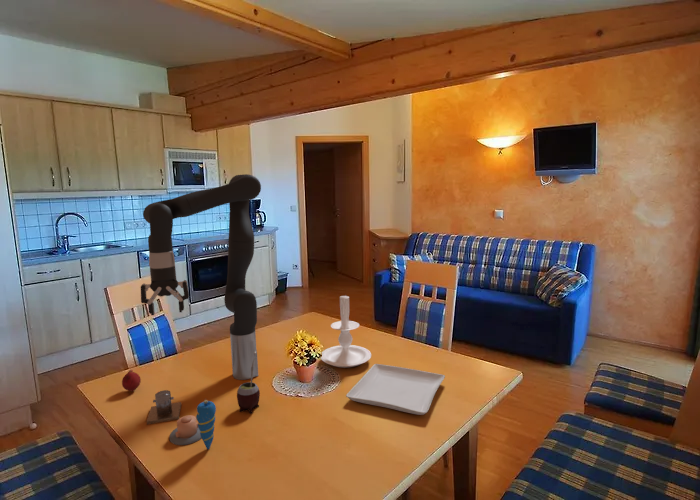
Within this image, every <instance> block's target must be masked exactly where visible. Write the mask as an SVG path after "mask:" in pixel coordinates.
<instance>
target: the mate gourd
mask: <svg viewBox="0 0 700 500" xmlns="http://www.w3.org/2000/svg"><path fill="white" fill-rule="evenodd" d="M255 359H256V358H254V360H253V363H252V367H251V379H250V381H248V382H244V383H242V384H240V385H239V386H238V389H237V392H236V399H237V405H238V408H239V409H238V411H239V413H243V412H246V411H248V412H249V414H251V415H252V414H253V413H254V412H253V410H254V409H257V408H259V407H260V405H259V401H260V396H261V395H260V394H261V393H260V391H261V390H260V387H259V386H258V385H257V384H256V383H255V382H253V378H254V377H253V369H254V368H253V366H254V362H255Z"/></svg>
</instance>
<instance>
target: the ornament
mask: <svg viewBox="0 0 700 500" xmlns="http://www.w3.org/2000/svg"><path fill="white" fill-rule="evenodd" d="M196 412H197V413H196V416H195V417H196V422H197V423H198V428H199V430H200V435H201V440H202V441H203V443H204V445H205V448H206V449H207V450H210V448H211V446H212V444H213V440H214V436H215V435H214V432H215V422H216V412H217V407H216V404H215V403H214V402H213V401H210V400H208V399H207V398H204V401H202V402H200V403H199V404H198V405H197V407H196Z"/></svg>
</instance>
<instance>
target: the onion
mask: <svg viewBox="0 0 700 500" xmlns="http://www.w3.org/2000/svg"><path fill="white" fill-rule="evenodd" d="M141 380H142V379H141V376H140V375H139V374H138V373H137V372H134V371H133V369H129V370H128V372H127V373H126V374H125V375H124V376H123V377H122V380H121V385H122V387H123V389H124V390H126V391H128V392H134V391H135V390H136V389H137V388H139V386H140V385H141Z"/></svg>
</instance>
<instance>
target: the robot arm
mask: <svg viewBox="0 0 700 500" xmlns="http://www.w3.org/2000/svg"><path fill="white" fill-rule="evenodd" d="M261 190H262V185H261V182H260V180H259V179H258V178H257V177H256V176H255V175H252V174H249V173H248V174H247V173H245V174H236V175H234V176H233V177H232V178H230V180H229V182H228V183H226V184H225V185H220V186H216V187H213V188H212V187H211V188H206V189H201V190H197V191H193V192H189V193H185V194H182V195H179V196H177V197H174V198H169V199H164V200H160V201H156V202H152V203H150V204H148V205H146V206H145V208H144V209H143V211H142V215H143V216H142V217H143V218H144V220H145V221H146V222H147V223H148V224H149V229H150V230H149V232H150V234H149V235H148V238H147V240H148V241H147V243H148V261H149V263H148V266H149V272H150V281H151V282H150V283H149V284H148V283H147V284H146V283H142V284H141V285H140V302H141V304H146V305H147V306H148V314H149V315H151V316H155V306H154V305H155V304H154V300H155V299H156V298H157V296H158V297H161V298H162V297H164V296H166V297H168V296H169V297H170V296H173V297H174V298H175V299H177V301H178V309H179V310H178V312H179V313H183V311H184V309H185V302H184V301H185V300H188V299H189V298H190V294H189V287H188V281H187V280H185V279H184V280H183V281H178V280H177V272H176V262H175V254H174V248H173V246H174V245H173V238H172V235H173V227H174V226H173V225H174V220H175V219H177V218H178V219H179V218H187V217H189V216H193V215H196V214H200V213H203V212H204V211H208V210H211V209H214V208H217V207H220V206H223V205H227V204H229V205H228V206H229V224H228V226H229V227H228V240H227V241H228V242H227V243H228V244H227V247H228V248H227V253H228V254H227V277H226V285H225V291H224V298H223V299H224V301H223V302H224V305H225V308H226V309H227V310H228V311H229V312H231V313H233V322H232V323H231V324H230V325H229V336H230V337H229V338H230V350H231V351H230V353H231V367H232V377H233V378H234V379H235V380H239V381H242V380H243V381H244V380H251V367H252V363H253V360H254V358H256V359H255V362H254V366H253V368H254V369H253V378H255V377H259V364H258V350H257V336H256V334H257V333H256V325H257V322H258V302H257V298H256V295H255V294H254V293H252V291H249V290H246V276H247V271H248V269H249V267H250V265H251V263H252V260H253V258H254V253H255V233H254V230H253V225H252V222H251V218H250V213H249V211H250V210H249V209H250V201H251V200H254V199H256V198H257V197H258V196H259V195H260V193H261ZM178 286H179V287H180V289H183V295H182V294H181V293H180V292H179V291H178V289H177V288H178ZM149 289H150V290H151V291H153V294H152V295H151V296H150V297H149V298H147V291H149Z"/></svg>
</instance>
